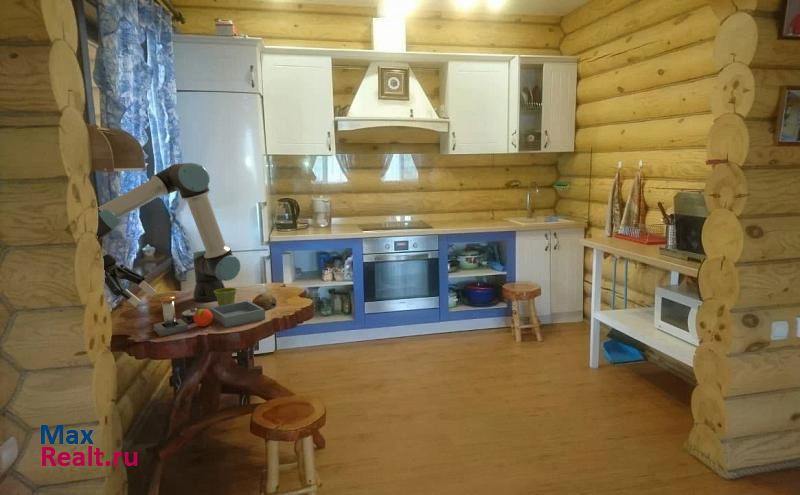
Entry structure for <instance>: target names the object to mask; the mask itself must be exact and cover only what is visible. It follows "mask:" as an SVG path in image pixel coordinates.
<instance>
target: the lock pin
mask: <svg viewBox="0 0 800 495" xmlns="http://www.w3.org/2000/svg"><path fill="white" fill-rule="evenodd" d="M159 300H160V302H161V304H162V306H161V307H162V314H163V322H164V324H165V327H169V326H174V325H176V319H177V318H176V310H175V309H176V307H175V300H176V296H175V295H166V296H165V295H164V296H162V297H159Z"/></svg>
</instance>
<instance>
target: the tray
mask: <svg viewBox="0 0 800 495" xmlns="http://www.w3.org/2000/svg"><path fill="white" fill-rule="evenodd" d="M209 309H210V310H209V311H210V312H211V313H212V316H213V319H212V320H213V321H216V322H217V323H219V324H220V325H221V326H223V327H224V328H231V327H235V326H238V325H239V326H240V325H244V324H249V323H253V322H256V321H257V322H258V321H262V320H265V319H266V311H265V309H263V308H261V307H259V306H257V305H255V304H253V303H252V301H249V300H244V301H238V302H235V303H233V304H228V305H222V306H218V305H217V306H212V307H210V308H209Z"/></svg>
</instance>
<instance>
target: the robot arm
mask: <svg viewBox="0 0 800 495" xmlns="http://www.w3.org/2000/svg"><path fill="white" fill-rule="evenodd" d="M210 180H211V179H210V174H209V172H208V169H206V168H205V167H204V166H202V165H200V164H198V163H194V162H183V163H174V164H172V165H169V166H167V167H166V168H164V169H163V170H161V171H159V172H157V173H156V174H154V175H152V176H151V179H149V180H147V181H146V182H144V183H141V184H140V185H138V186H136V187H135V188H132V189H131V190H128V191H127V192H125V193H123V194H121V195H119V196H117V197H115V198H114V199H112V200H109V201H107V202H106V203H104V204H102V205H101V206H98V207H97V208H99V228H98V233H97V236H98V239H99V241H100V240H102V239H103V238H104V237H105V236H107V235H108V234H109V233H111V232H112V231H113V230H115V229H116V228H118V226H119V225H120V223H121V221H120V219H121V218H122V217H124V216H126V215H128V214H129V213H130V214H131V212H133V211H135V210H137V209H139V208H140V207H143V206H144V205H147V204H148V203H150V202H151V201H153V200H155V199H157V198H159V197H161V196H168V195H169V194H171V193H174V192H179V194H180V197H181V199H182V200H184V201H186V202H187V206H188V207H189V211H190V213H191V215H192V218H193V221H194V222H195V226H196V228H197V231H198V233H199V236H200V239H201V241H202V244H203V247H204V249H205V250H197V251H195V252H194V253H193V259H192V260H193V266H194V269H193V270H194V278H195V286H194V289H193V294H192V297H193V301H195V302H213V301H217V298H216V295H215V293H214V291H215V290H217V289H221V288H226V287H225V284H224V282H223V281H225V282H230V281H232V280H234V279H235V278H236V277H237V276H238V275H239V272H240V271H241V267H242V266H241V261H240V259H239V258H238V257H236V256H235V255H233V252H232V249H231V247H230V246H228V245H226V243H225V240H224V238H223V237H224V236H223V235H222V232H221V229H220V226H219V224H218V221H217V218H216V215H215V212H214V210H213V207H212V205H211V202H210V199H209V196H208V195H209V193H210V187H209V183H210ZM101 248H102V247H101ZM102 252H103V258H104V270H105V282H104V283H105V284H106V286H107V287H108V288H109V291H111V293H112V294H113V295H115V297H120V296H121V297H123V299H125V300H127V302H129V303H130V304H131V305H132V306H133V307H137V306H138V305H139V304H140V303H141V301H142V300H141V299H139V298H138V297H137V296H136V295H135V294H133V293H132V292H131V291H130V290H128V289H127V288H124V285H123V283H122V281H121V280H125V281H128V282H131V283H134V284H136V285H138V287H139V288H140V289H141V290H143V291H144V292H145V293H146V294H148V296H150V297H151V298H153V297H154V296H155V295H156V293H157V292H158V291H157V290H156V289H154V288H153V287H152V286H151V285H150V284H148V282H146V281H145V279H146V277H145V276H144V275H142V274H140V273H138V272H137V271H134V270H132V269H130V268H129V267H127V266H125V265H124V264H123V263H120V265H117V264H116V263H117V259H116V258H115V257H113V256H112V255H111V254H109V253H108V252H107V251H106V250H105V249H104V248H102Z"/></svg>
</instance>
